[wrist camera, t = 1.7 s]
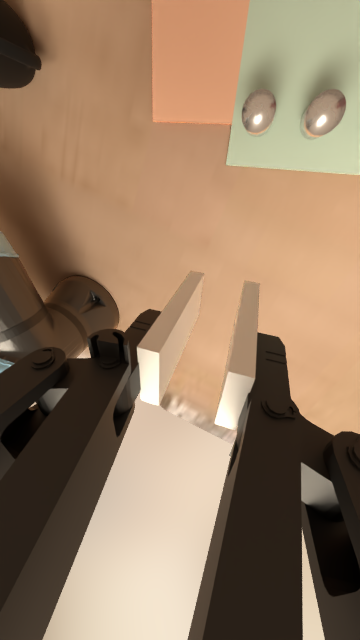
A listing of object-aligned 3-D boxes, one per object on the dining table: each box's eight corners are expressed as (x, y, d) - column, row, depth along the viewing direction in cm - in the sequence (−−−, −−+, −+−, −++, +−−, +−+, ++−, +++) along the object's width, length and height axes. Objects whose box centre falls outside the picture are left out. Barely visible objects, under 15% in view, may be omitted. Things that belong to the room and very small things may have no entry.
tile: (154, 121, 29) (152, 121, 29) (153, -40, 22) (151, -45, 22) (232, 124, 27) (231, 123, 27) (258, -53, 20) (258, -59, 20)
